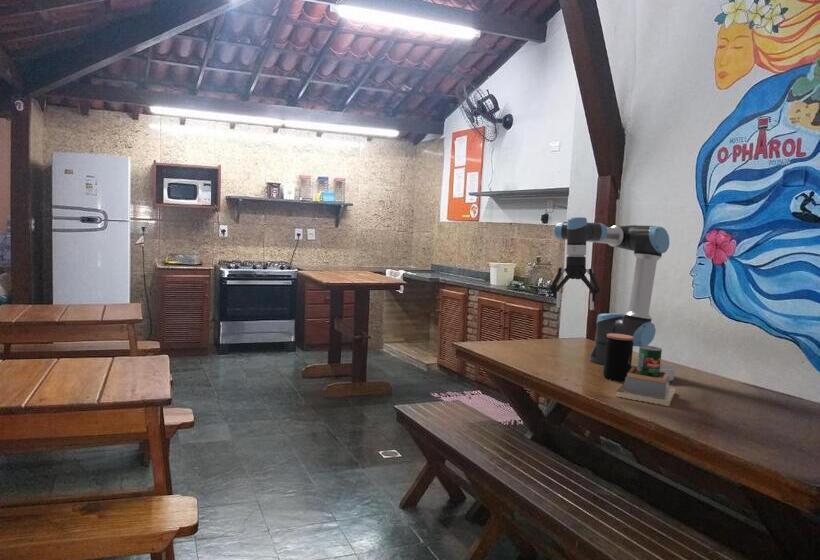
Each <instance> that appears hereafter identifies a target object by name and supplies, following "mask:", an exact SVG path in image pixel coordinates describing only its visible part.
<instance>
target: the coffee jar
mask: <svg viewBox="0 0 820 560" xmlns="http://www.w3.org/2000/svg"><path fill="white" fill-rule="evenodd" d="M607 338H608V339H607V340H606V349H605V359H604V364H603V369H602V371H603V372H602V375H603V377H604V378H605V379H606V378H607V380H609V379H611V380H610V381H613V380H616V381H615V382H625V377H626V376H627V373H628V372H629V371H630V369H631V366H632V360H633V351H634V346H633V342H632V341H633V340H634V337H632V336H629V335H624V334H614V333H610V334H607Z"/></svg>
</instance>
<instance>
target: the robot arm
mask: <svg viewBox="0 0 820 560" xmlns="http://www.w3.org/2000/svg"><path fill="white" fill-rule="evenodd" d="M553 234H554V236H555V237H556V238H557V239H560V240H566V255H567V256H566V260H565V261H566V262H565V263H566V265H565V267H558V269H557V274H556V276H555V278H554V279H553V281H552V283H551V285H550V287H549V289H550V290H551V291H553V292H554V297H553V298H554V299H555V300H556V308H557V309H558V308H561V304H562V303H561V302H562V301H561V297H562V291H560V290H561V289H562V287H564V285H565V284H566V283H567V282H568V281H569V280H582V282H583V284H584V285H585V286H586V287H587V288H588V289H589V291H590V292H591V293H590V294H589V310H590V311H593V310H594V308H595V307H594V305H595V302H596V301H597V294H598V293H600V292H602V290H603V289H602V288H601V286H600V283H599V281H598V280H597V277H596V274H595V269H594V268H587V266H586V265H587V262H586V261H587V257H586V255H587V242H588V243H596V244H607V245H608V246H610V247H613V248H619V249H623V250H628V251H633V255H634V257H635V258H636V260H635V267H634V274H633V280H632V285H631V286H632V287H631V293H630V297H629V298H630V299H629V304H628V311H626V312H624V314H623V313H599V314H597V318H596V325H595V327H596V329H595V337H594V345H593V348H592V350H591V352H590V354H589V359H588V360H589V361H590V362H592V363H596V364H599V365H604V359H605V349H606V340H607V339H608V338H607V334H610V333H614V334H624V335H629V336H632V337H634V340H633V341H632V342H633V347H636V348H637V347H638V348H640V347H639V346H650V344H651V343H652V341H653V340H654V339H655V335H656V326H655V324H654V323H653V322H652V317H651V315H650V313H649V312H650V308H651V301H652V295H653V289H654V283H655V276H656V269H657V263H658V261H659V260H660V259H661V258H662V256H663V255H662V254H665V253H666V252H667V251H668V250H669V247H670V236H669V233H668V231H667V230H666V229H665V227H663V226H656V225H638V224H634V225H633V224H632V225H629V224H628V225H612V226H606V225H605V224H604V223H602V222H588V219H587V217H582V216H580V217H569V218H568V219H567V221H559V222H557V223H556V224H555V225H554V233H553ZM564 273H566V275H565V276H564V277H563V279H562V280H561V281H560V279H561V278H562V275H563V274H564ZM586 273H587V275H589V277H590V280H591V281H592V283H591V282H590V281H589V279H588V278H587V276H586ZM559 281H560V283H559Z"/></svg>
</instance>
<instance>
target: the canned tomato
mask: <svg viewBox="0 0 820 560" xmlns="http://www.w3.org/2000/svg"><path fill="white" fill-rule="evenodd" d="M638 348H639V350H638V357H637V358H638V359H637V365H636V366H637V374H640V375H646V376H653V377H659V371H660V364H661V360H662V351H663V348H661V347H658V346H651V345H648V346H639V347H638Z"/></svg>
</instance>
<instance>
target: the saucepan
mask: <svg viewBox="0 0 820 560" xmlns="http://www.w3.org/2000/svg"><path fill="white" fill-rule="evenodd" d="M637 366H638V365H631V368H632V367H636V368H637ZM675 370H676V367H674V366H672V365H667V364H662V363H660V371H661V372H668V373H669V377H670V381H669V382H671V381H674V378H675V377H674V376H675Z"/></svg>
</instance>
